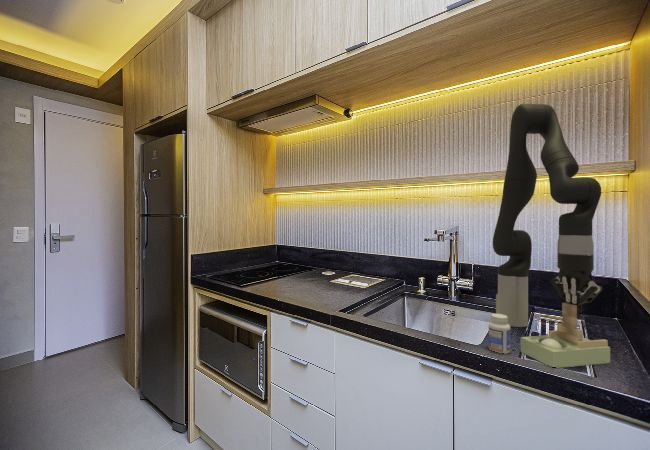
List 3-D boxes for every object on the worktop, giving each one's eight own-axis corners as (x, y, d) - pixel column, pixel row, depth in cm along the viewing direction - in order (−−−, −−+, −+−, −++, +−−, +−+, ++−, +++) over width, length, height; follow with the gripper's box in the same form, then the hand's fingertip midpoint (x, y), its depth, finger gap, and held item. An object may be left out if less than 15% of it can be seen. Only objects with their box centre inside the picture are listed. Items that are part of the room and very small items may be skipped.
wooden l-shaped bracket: (557, 336, 85) (557, 301, 85) (560, 336, 85) (560, 301, 85) (578, 344, 79) (578, 307, 79) (582, 344, 79) (582, 306, 79)
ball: (537, 333, 83) (552, 338, 84) (532, 351, 83) (547, 356, 84) (554, 340, 78) (570, 345, 79) (549, 359, 78) (564, 364, 79)
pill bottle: (502, 346, 89) (503, 312, 89) (515, 354, 84) (515, 318, 84) (484, 346, 89) (484, 312, 89) (495, 354, 84) (495, 318, 84)
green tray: (520, 351, 85) (520, 331, 85) (572, 347, 88) (572, 328, 88) (553, 368, 75) (553, 345, 75) (610, 362, 78) (610, 341, 78)
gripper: (541, 250, 88) (541, 310, 88) (588, 254, 75) (588, 325, 75) (563, 250, 90) (563, 309, 90) (613, 254, 77) (613, 324, 77)
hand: (574, 316), depth 82 cm, fingers closed
